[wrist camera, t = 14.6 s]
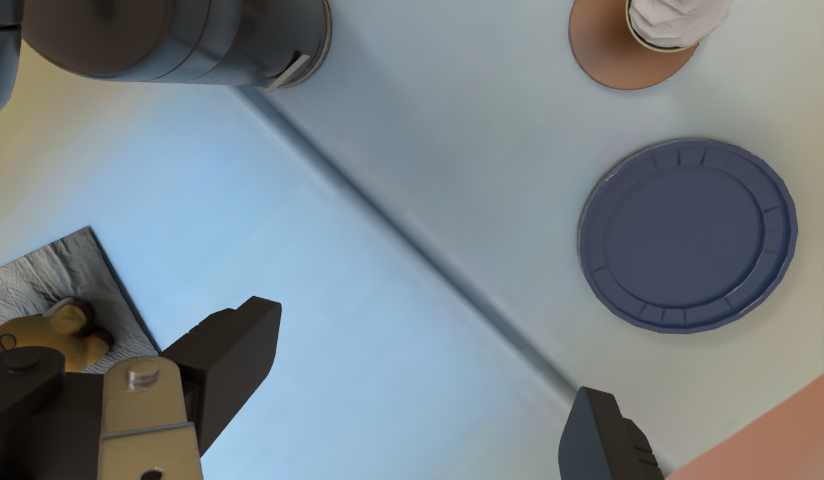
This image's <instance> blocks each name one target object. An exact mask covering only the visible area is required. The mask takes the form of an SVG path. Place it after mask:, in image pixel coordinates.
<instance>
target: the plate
mask: <svg viewBox="0 0 824 480" xmlns="http://www.w3.org/2000/svg"><path fill="white" fill-rule="evenodd" d="M797 234H798V225H797V218H796V211H795V204H794V202H793V200H792V198H791V196H790V194H789V192H788V189H787V187H786V185H785V183H784V181H783V180H782V179H781V178H780V177H779V176H778V174H777V173H776V172H775V171H774V170H773V169H772V168H771V167H770V166H769V165H768V164H767V163H766V162H765V161H764V160H762V159H760V158H759V157H757V156H755V155H753V154H751V153H749V152H748V151H746V150H744V149H742V148H740V147H738V146H733V145H729V144H725V143H721V142H716V141H712V140H708V139H683V140H673V141H669V142H666V143H662V144H658V145H654V146H651V147H648V148H645V149H644V150H642V151H640V152H638V153H636V154H634V155H633V156H631V157H629V158H627V159H625V160H623V161H622V162H621V163H620V164H619V165H617V166H616V167H615V168H614V169H613V170H612V171H611V172H610V173H609V174H607V175H606V176H605V177H604V178H603V179H602V180H601V181H600V183H599V184H598V186H597V187H596V189H595V190H594V192H593V193H592V195H591V196H590V198H589V199H588V201H587V203H586V206H585V209H584V212H583V215H582V218H581V221H580V224H579V230H578V254H579V258H580V263H581V267H582V271H583V274H584V276H585V278H586V280H587V281H588V283H589V285H590V287H591V288H592V290H593V292H594V294H595V295H596V297H597V298H598V299H599V300H600V301H601V302H602V303H603V304H604V305H605V306H606V307H607V308H608V309H609V310H610V311H611V312H612V313H613V314H615V315H616V316H618V317H620V318H622V319H624V320H625V321H627V322H629V323H631V324H632V325H634V326H636V327H640V328H644V329H647V330H651V331H655V332H658V333H669V334H692V333H697V332H702V331H708V330H713V329H717V328H719V327H721V326H724V325H726V324H728V323H731V322H733V321H735V320H738V319H740V318H742V317H743V316H745V315H746V314H747V313H749V312H750V311H752V310H753V309H754V308H756V307H757V306H758V305H760V304H761V303H763V301H765V300H766V298H767V297H768V296H769V295H770V294H771V293H772V291H773V290H774V289H775V288H776V287H777V286H778V285H779V283H780V282H781V280H782V279H783V277H784V275H785V273H786V271H787V269H788V267H789V265H790V263H791V261H792V259H793V256H794V252H795V246H796V240H797Z"/></svg>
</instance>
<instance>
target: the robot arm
mask: <svg viewBox="0 0 824 480" xmlns="http://www.w3.org/2000/svg"><path fill="white" fill-rule="evenodd" d="M331 33H332V21H331V14H330V9H329V6H328V3H327V0H0V110H1V109H3V108H4V107H5V105H6V104H7V102H8V101H9V99H10V97H11V94H12V91H13V88H14V85H15V80H16V75H17V71H18V64H19V57H20V48H21V38H22V39H23V40H24V41H25V42H26V43H27V44H28V45H29V46H30V47H31V48H32V49H33V50H35V51H36V52H37V53H38V54H39V55H41V56H42V57H43V58H45V59H46V60H47V61H49V62H50V63H52V64H54V65H56V66H57V67H59V68H61V69H63V70H66V71H68V72H70V73H73V74H75V75H78V76H81V77H85V78H89V79H94V80H101V81H115V82H153V83H186V84H212V85H238V86H262V87H266V88H267V89H266V90H265V91H264V92H273V91H274V90H275V89H276V88H287V87H292V86H295V85H297V84H299V83H302V82H303V81H305V80H306V79H308V78H309V77H310V76H312V75H313V74H314V73H315V72H316V70H317V69H318V68H319V67H320V65H321V64H322V62H323V60H324V59H325V56H326V54H327V52H328V49H329V45H330V41H331ZM281 312H282V306H281V303H279V302H275V301H271V300H268V299H264V298H260V297H257V296H252V297H251V298H249V299H248V300H247V301H246V302H245V303H243V304H242V305H241V306H240V307H239V308H237V309H236V310H234V309H231V308H227V309H224V310H221V311H218V312H216V313H213V314H210V315H209V316H208V317H207V318H205V319H204V320H203V321H201V322H200V323H199V325H196V326H195V327H194V328H192V329H191V330H190V331H189V333H186V334H185V335H183V336H182V337H181V338H179V339H178V340H177V341H176V342H174V343H173V344H172V345H170V346H169V347H168V348H166V349H165V350H164V351H163V352H161V353H160V354H159V355H157V356H150V355H144V356H135V357H130V358H127V359H123V360H121V361H119V362H117V363H115V364H113V365H112V366H111V367H110V368H109V369H108V370H107V371H106V373H105V374H95V373H80V372H66V359H65V356H64V355H63V354H62V353H61V352H60V351H58V350H56V349H53V348H50V347H45V346H23V347H16V348H12V349H8V350H4V351H1V352H0V480H204V479H203V473H202V467H201V461H200V458H201V457H202V456H203V455H204V453H205V452H206V451H207V450H208V448H209V447H210V446H211V445H212V443H213V442H214V441H215V440H216V439H217V437H218V436H219V435H220V434H221V432H222V431H223V430H224V429H225V427H226V426H227V425H228V424H229V423H230V421H231V420H232V419H233V418H234V416H235V415H236V414H237V413H238V411H239V410H240V409H241V408H242V406H243V405H244V404H245V403H246V402H247V400H248V399H249V398H250V397H251V395H252V394H253V393H254V392H255V390H256V389H257V388H258V387H259V386H260V384H261V383H262V382H263V381H264V379H265V378H266V377H267V375H268V374H269V372H270V370H271V367H272V365H273V362H274V358H275V353H276V347H277V340H278V333H279V326H280V320H281ZM558 462H559V468H560V474H561V480H665V479H664V477H663V475H662V472H661V470H660V468H658V463H657V461H656V459H655V456H654V455H653V454H652V449H651V447H650V445H649V442H648V440H647V438H646V436H645V435H644V433H643V432H642V431H641V430H640V429H639V428H638V427H637V426H636V425H635V423H634V422H633V421H632V420H630V419H626V418H623V417H622V415H621V413H620V410H619V407H618V405H617V402H616V400H615V397H614V395H613V394H610V393H606V392H602V391H599V390H595V389H591V388H588V387H584V386H582V387H581V388H580V389H579V391H578V393H577V395H576V398H575V401H574V403H573V406H572V409H571V412H570V414H569V417H568V420H567V423H566V425H565V428H564V431H563V434H562V436H561V440H560V444H559V452H558Z"/></svg>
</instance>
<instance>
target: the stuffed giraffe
mask: <svg viewBox="0 0 824 480" xmlns="http://www.w3.org/2000/svg"><path fill="white" fill-rule="evenodd" d="M23 346H45V347H50V348H53V349H56V350H58V351H60V352H61V353H62V354H63V355H64V356H65V359H66V372H80V373H95V374H105V373H106V371H107V370H108V369H109V368H110V367H111V366H112V365H113V364H115V363H117V362H119V361H121V360H123V359H127V358H130V357H135V356H144V355H150V356H157V355H159V354H158V352H157V351H156V350H155V348H154V347H153V345H152V344H151V343H150V341H149V340H148V337H147V336H146V335H145V333H144V332H143V330H142V329H141V327H140V325H139V324H138V322H137V321H136V319H135V317H134V316H133V314H132V312H131V310H130V308H129V306H128V305H127V303H126V301H125V299H124V298H123V297H122V294H121V292H120V290H119V287H118V285H117V284H116V283H115V281H114V280H113V278H112V276H111V274H110V271H109V269H108V268H107V266H106V264H105V262H104V260H103V258H102V255H101V252H100V251H99V249H98V247H97V245H96V243H95V240H94V239H93V237H92V235H91V233H90V231H89V229H88V227H84V228H82V229H80V230H78V231H76V232H74V233H72V234H70V235H68V236H66V237H63V238H61V239H59V240H57V241H55V242H52V243H50V244H48V245H46V246H44V247H42V248H40V249H38V250H36V251H34V252H32V253H29V254H27V255H25V256H23V257H21V258H19V259H17V260H15V261H12V262H10V263H8V264H6V265H4V266H2V267H0V352H1V351H4V350H8V349H12V348H16V347H23Z"/></svg>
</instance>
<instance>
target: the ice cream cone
mask: <svg viewBox="0 0 824 480" xmlns="http://www.w3.org/2000/svg"><path fill="white" fill-rule="evenodd" d="M733 1H734V0H627V1H626V19H627V23H628V26H629V29H630V31H631V33H632V34H633V36H634V37H635V38H636V39H637V41H639V42H640V43H641V44H642V45H643V46H645V47H647V48H649V49H651V50H654V51H658V52H666V53H668V52H677V51H681V50H685V49H687V48H689V47H692V46H693V45H695V44H697V43H698V42H700V41H701V40H702V39H703V38H705V37H706V36H707V35H709V34H710V33H711V32H713V31H714V30H715V29H716V28H718V27H719V26H720V25H721V24H723V23H724V21H725V19H726V17H727V14H728V12H729V10H730V8H731V5H732V3H733Z"/></svg>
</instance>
